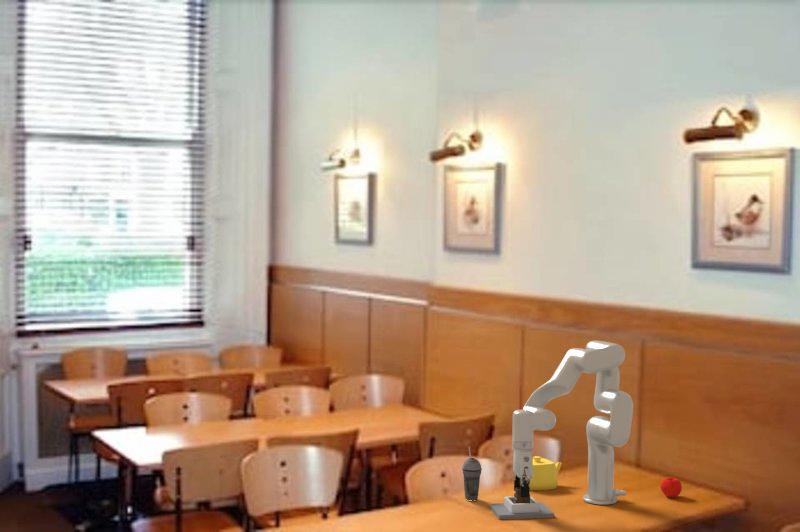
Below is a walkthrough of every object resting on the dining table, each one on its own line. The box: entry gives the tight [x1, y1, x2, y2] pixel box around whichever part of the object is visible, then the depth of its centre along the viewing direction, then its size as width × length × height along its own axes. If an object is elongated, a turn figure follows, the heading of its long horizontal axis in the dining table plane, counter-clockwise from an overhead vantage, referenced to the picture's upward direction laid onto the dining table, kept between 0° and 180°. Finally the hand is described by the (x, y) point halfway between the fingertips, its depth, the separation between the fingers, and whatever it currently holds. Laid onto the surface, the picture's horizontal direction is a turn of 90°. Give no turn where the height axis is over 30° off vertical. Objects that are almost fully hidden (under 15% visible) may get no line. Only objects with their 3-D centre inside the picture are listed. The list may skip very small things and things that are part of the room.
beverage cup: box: [461, 445, 482, 502], centre depth 361 cm, size 7×7×20 cm
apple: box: [659, 477, 683, 499], centre depth 370 cm, size 8×8×7 cm
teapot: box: [523, 455, 563, 491], centre depth 382 cm, size 20×12×12 cm, turn 109°
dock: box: [488, 495, 555, 520], centre depth 346 cm, size 20×14×4 cm
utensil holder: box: [513, 476, 531, 504], centre depth 346 cm, size 6×6×12 cm
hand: (521, 493), depth 346 cm, fingers open, 7 cm apart
